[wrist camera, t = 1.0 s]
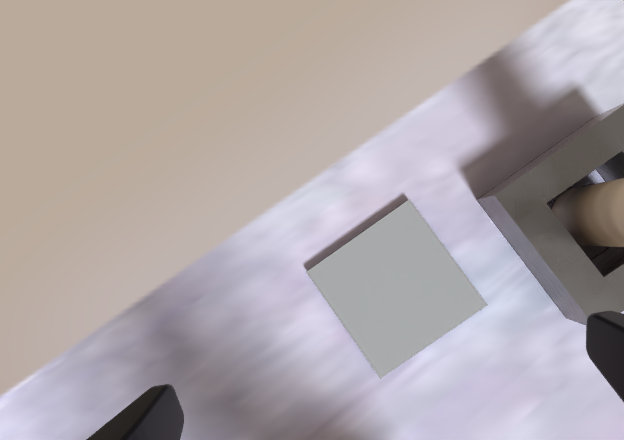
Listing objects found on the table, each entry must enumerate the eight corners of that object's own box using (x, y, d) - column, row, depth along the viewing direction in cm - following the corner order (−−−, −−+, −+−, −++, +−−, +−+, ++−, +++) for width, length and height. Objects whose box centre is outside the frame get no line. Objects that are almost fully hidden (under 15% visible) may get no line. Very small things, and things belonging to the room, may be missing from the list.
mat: (484, 303, 22) (487, 304, 21) (379, 375, 22) (380, 378, 22) (407, 199, 23) (409, 199, 22) (306, 271, 23) (306, 272, 22)
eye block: (690, 233, 21) (737, 233, 19) (566, 318, 22) (596, 328, 19) (595, 116, 22) (628, 101, 19) (476, 199, 22) (494, 195, 20)
